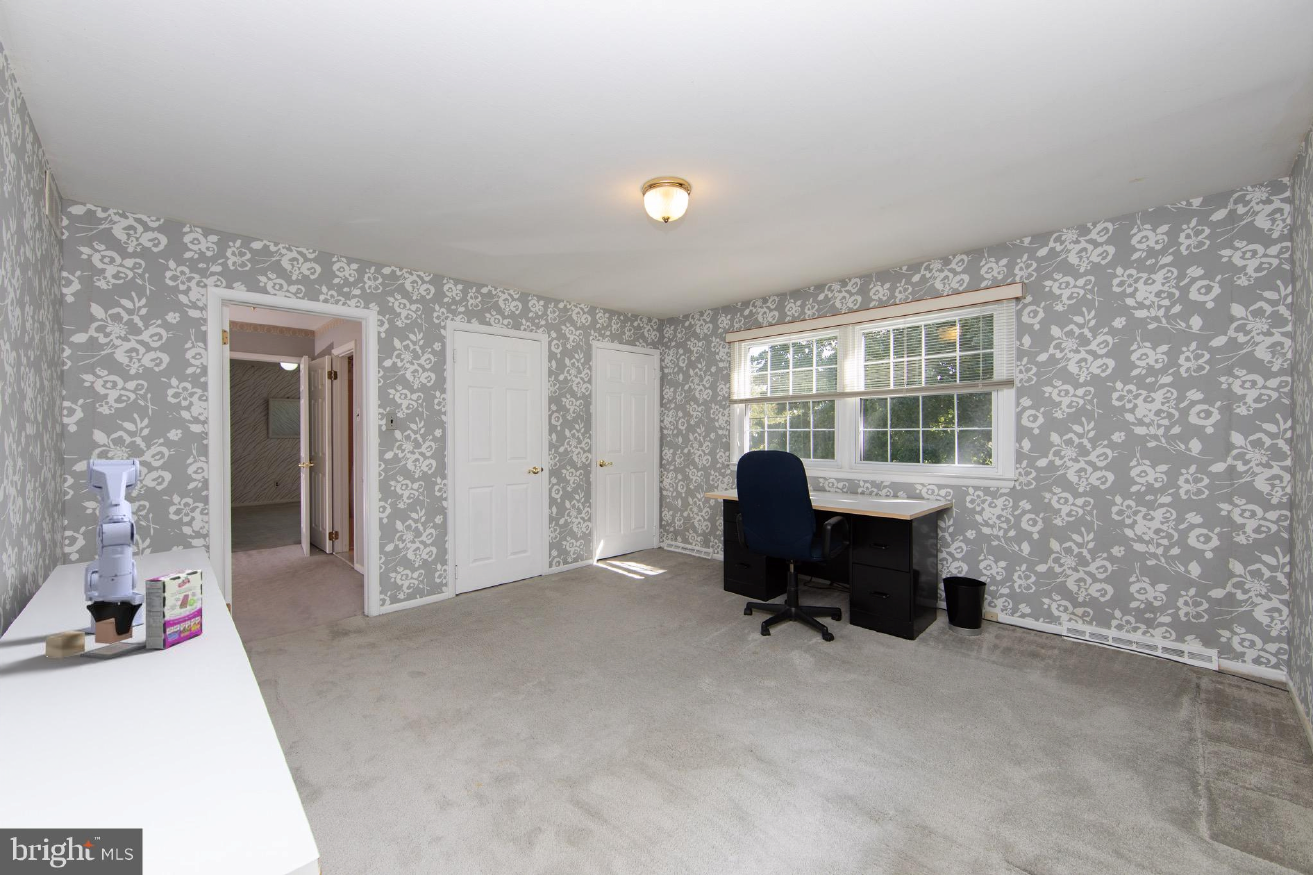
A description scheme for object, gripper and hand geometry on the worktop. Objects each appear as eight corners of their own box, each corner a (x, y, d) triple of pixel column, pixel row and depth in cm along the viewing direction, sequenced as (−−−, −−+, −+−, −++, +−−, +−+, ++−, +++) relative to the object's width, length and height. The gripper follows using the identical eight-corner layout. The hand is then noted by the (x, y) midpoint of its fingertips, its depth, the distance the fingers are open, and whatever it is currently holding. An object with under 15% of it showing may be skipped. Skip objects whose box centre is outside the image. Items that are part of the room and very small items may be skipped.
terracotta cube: (116, 636, 135) (117, 617, 135) (132, 637, 134) (132, 618, 134) (95, 642, 131) (95, 622, 131) (110, 644, 130) (111, 624, 130)
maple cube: (69, 650, 133) (69, 630, 133) (84, 651, 132) (85, 632, 133) (45, 657, 129) (45, 637, 129) (61, 658, 128) (61, 638, 128)
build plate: (119, 644, 137) (119, 641, 137) (146, 646, 136) (146, 643, 136) (79, 656, 129) (80, 653, 129) (107, 659, 128) (108, 655, 128)
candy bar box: (183, 634, 145) (184, 569, 145) (203, 634, 145) (204, 569, 145) (143, 649, 134) (144, 579, 134) (164, 650, 134) (165, 579, 134)
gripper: (70, 576, 130) (69, 636, 130) (121, 579, 127) (119, 641, 127) (105, 570, 137) (104, 627, 137) (154, 573, 134) (153, 631, 134)
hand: (114, 633), depth 132 cm, fingers closed on terracotta cube, 4 cm apart
